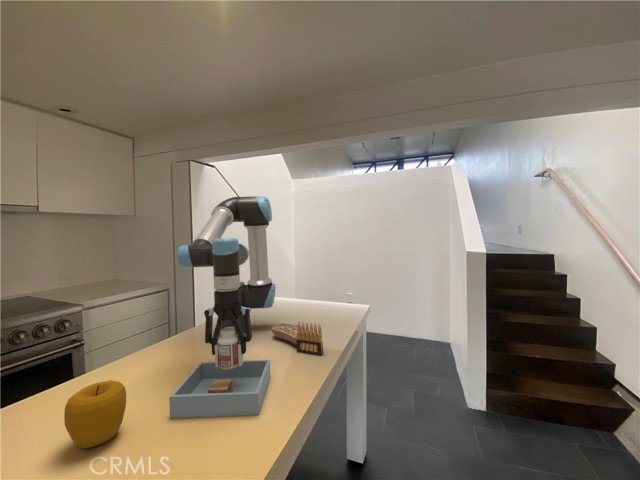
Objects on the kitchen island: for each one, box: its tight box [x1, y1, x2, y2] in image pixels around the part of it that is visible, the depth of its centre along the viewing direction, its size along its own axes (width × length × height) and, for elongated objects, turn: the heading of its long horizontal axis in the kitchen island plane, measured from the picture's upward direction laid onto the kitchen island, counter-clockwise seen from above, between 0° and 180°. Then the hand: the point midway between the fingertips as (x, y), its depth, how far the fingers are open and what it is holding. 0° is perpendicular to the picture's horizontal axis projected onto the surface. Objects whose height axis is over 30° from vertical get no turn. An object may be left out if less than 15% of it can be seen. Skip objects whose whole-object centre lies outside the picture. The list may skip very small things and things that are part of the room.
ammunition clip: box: [296, 321, 324, 357], centre depth 105 cm, size 11×2×12 cm, turn 67°
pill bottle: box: [217, 327, 240, 370], centre depth 82 cm, size 6×6×11 cm
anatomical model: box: [271, 323, 314, 346], centre depth 117 cm, size 23×10×5 cm, turn 46°
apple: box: [63, 379, 128, 449], centre depth 62 cm, size 11×11×13 cm
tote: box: [168, 359, 271, 419], centre depth 78 cm, size 19×23×6 cm
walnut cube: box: [208, 379, 233, 394], centre depth 74 cm, size 5×5×5 cm
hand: (229, 364), depth 82 cm, fingers closed on pill bottle, 6 cm apart
